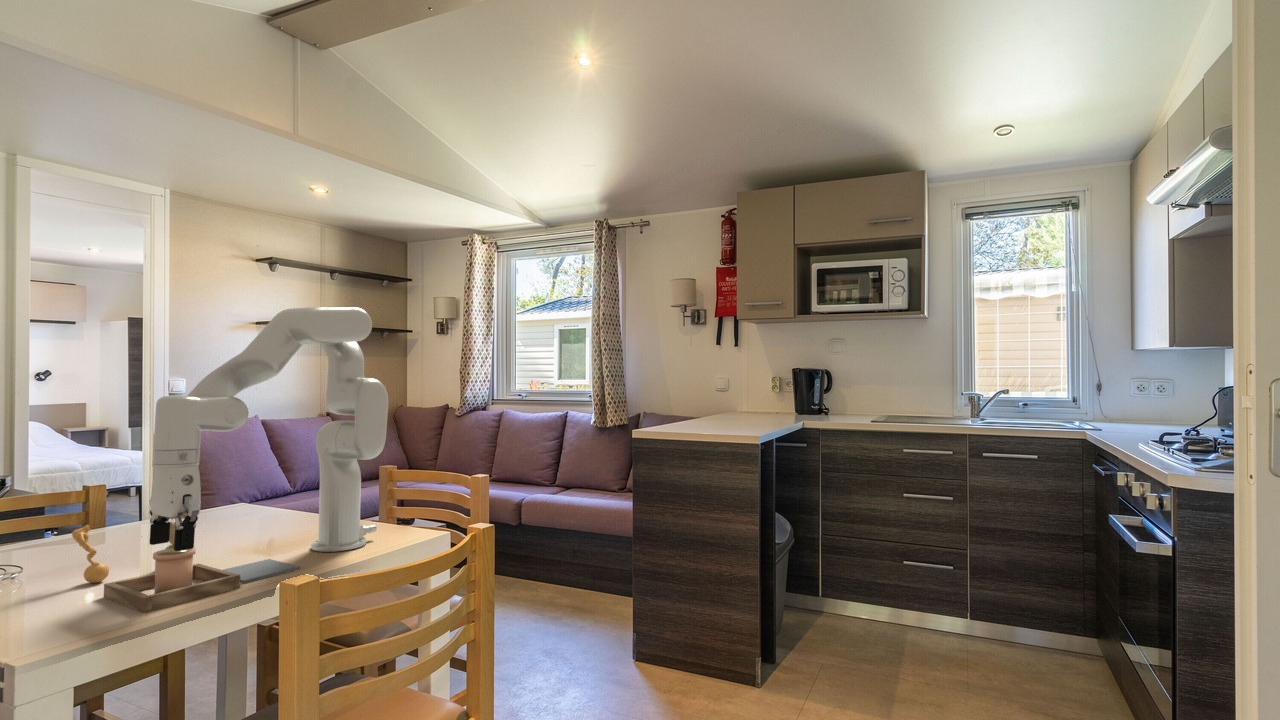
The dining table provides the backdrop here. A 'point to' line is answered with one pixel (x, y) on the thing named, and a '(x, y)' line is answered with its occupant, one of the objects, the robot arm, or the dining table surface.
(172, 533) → the snail figurine
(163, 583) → the terracotta pot
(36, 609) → the dining table surface
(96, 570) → the figurine
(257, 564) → the grey mat
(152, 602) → the frame
